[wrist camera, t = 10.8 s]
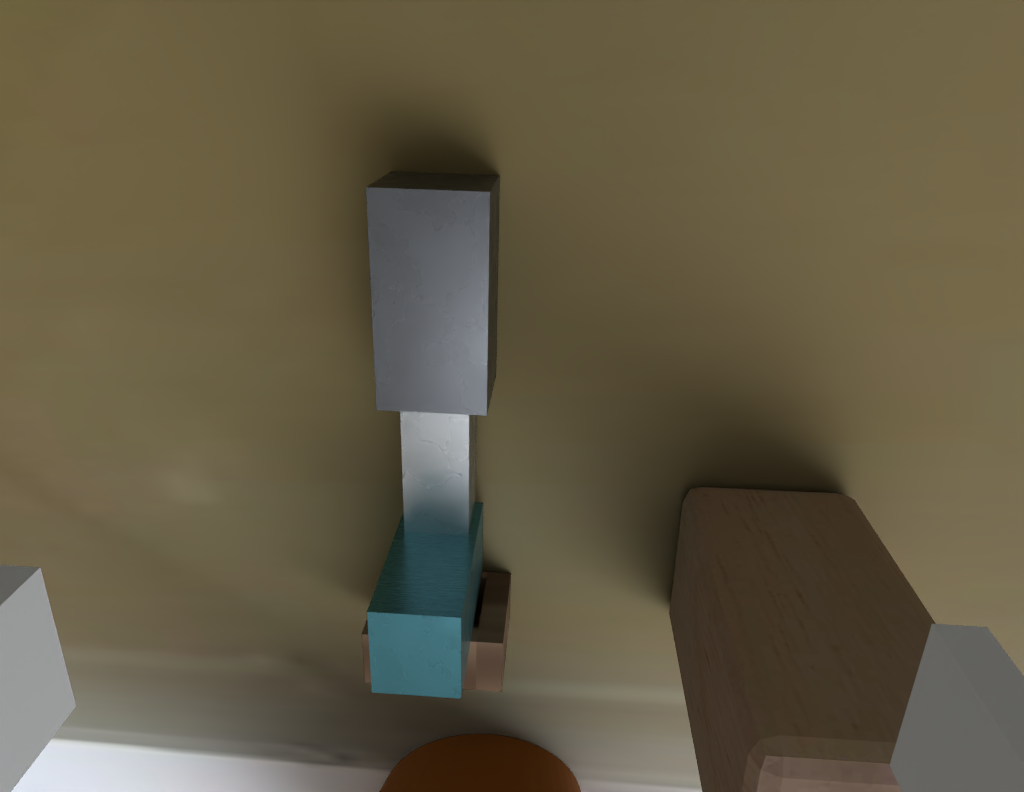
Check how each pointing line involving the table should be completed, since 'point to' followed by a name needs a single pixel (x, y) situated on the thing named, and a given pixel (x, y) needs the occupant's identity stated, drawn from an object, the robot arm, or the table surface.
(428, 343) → the grey rectangular block
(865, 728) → the wooden block
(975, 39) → the table surface
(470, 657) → the socket
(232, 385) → the table surface
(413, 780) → the flower pot
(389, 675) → the teal square post
